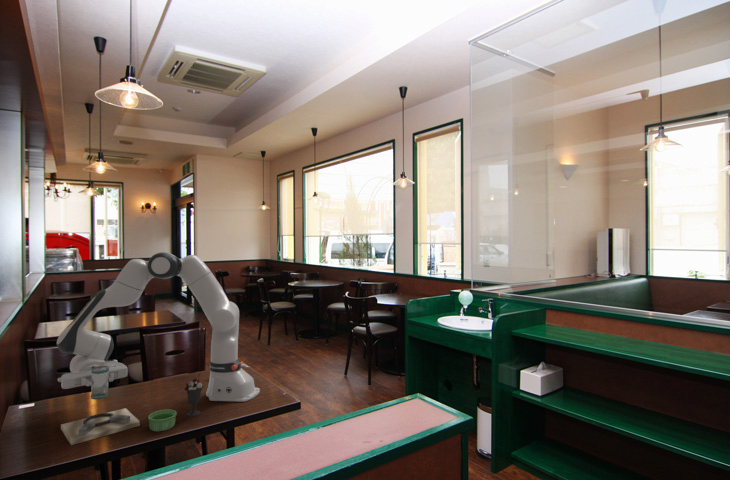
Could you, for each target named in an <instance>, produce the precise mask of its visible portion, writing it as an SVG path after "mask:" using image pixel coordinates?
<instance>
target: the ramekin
mask: <svg viewBox="0 0 730 480" xmlns="http://www.w3.org/2000/svg"><path fill="white" fill-rule="evenodd" d="M176 416H177V410H174V409H171V408H169V409H168V408H167V409H166V408H165V409H160V410H156V411H153V412H152V413H150V414H149V415H148V417H147V418H148V425H149V430H150V431H152V432H164V431H168V430H170V429H172V428H173V427H175V425H176Z"/></svg>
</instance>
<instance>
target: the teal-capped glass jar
mask: <svg viewBox="0 0 730 480" xmlns="http://www.w3.org/2000/svg"><path fill="white" fill-rule="evenodd" d="M91 372H92V386H90V387H91V388H90V390H91V391H90V399H91V400H101V399H105V398H108V397H109V382H108V376H109V367H108V366H99V367H95V368H92V371H91Z"/></svg>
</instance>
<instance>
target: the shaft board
mask: <svg viewBox="0 0 730 480" xmlns="http://www.w3.org/2000/svg"><path fill="white" fill-rule="evenodd" d="M140 426H141V421H140V420H139V419H138V418H137V417H136V416H134V414H132V413H131V411H129V410H128V408H121V409H117V410H112V411H109V412H101V413H97V414H92V415H89V416H88V417H85V418H81V419H77V420H73V421H69V422H66V423H62V424H60V430H61V431H62V433H63V434H64V436H65V438H66V440H67V441H68V442H69V444H70V446H75V445H77V444H81V443H85V442H87V441H91V440H94V439H99V438H102V437H105V436H109V435H113V434H115V433H119V432H122V431H126V430H130V429H133V428H136V427H140Z"/></svg>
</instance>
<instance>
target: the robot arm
mask: <svg viewBox="0 0 730 480" xmlns="http://www.w3.org/2000/svg"><path fill="white" fill-rule="evenodd" d="M175 276H177V277H180V278H181V279H182V280H183V282H184V283H185V285H186V286H187V287H188V289H189V290H190V291H191V293H192V294H193V296H194V297H195V299H196V300H197V302H198V303H199V305H200V307H201V309H202V311H203V312H204V315H205V316H206V318H207V320H208V322H209V323H210V326H211V327H212V332H211V342H210V360H209V369H208V370H209V380H208V386H207V389H206V392H205V396H206V397H207V398H208V400H209V401H212V402H248V401H250V400H252V399H254V398H255V397H257V396H258V395H259V394H260V393H261V390H260V388H259V387H256V386H255V380H254V377H253V376H251V375H250V374H249V373H248V372H247V371H245V369H243V368H242V366H241V365H243V364H244V361H240V360H239V358H238V353H239V352H238V351H239V350H238V349H239V345H238V344H239V331H240V330H239V329H240V309H239V307H238V305H237V304H236V303H235V302H233V301H230V300H229V298H228V297H227V294H226V293H225V291H224V289H223V287H222V286H221V283H220V282H219V281H218V279H217V278H216V277H215V275H214V274H213V272H212V271H211V269H210V268H209V267H208V265H207V264H206V263H205V261H203V260H202V259H201V258H200V257H199V256H198V255H197V254H196V255H195V254H190V255H189V254H188V255H186V256H184V257H181V258H179V257H177V256H176V255H174V254H172V253H171V252H170V253H169V252H164V251H163V252H157V253H154V254H153V255H152V256H151V257H150V258H149V260H144V259H141V258H134V259H133V258H132V259H130V260H128V262H127V263H126V264H125V266H124V267H123V268H122V269H121V271H120V272H119V274H118V275H117V277H116V279H115V281H114V282H113V283H112V284H111V285H110V286H108V287H107V288H105V289H100V290H99V291H98V292H96V293H95V294H94V295H93V296H92V297H91V298H90V299H89V301H87V303H86V304H85V306H84V307H83V308H82V309H81V310H80V312H79V313H78V314H77V315H76V316H75V317H74V319H73V320H72V321H71V322H70V324H68V325H67V326H66V328H64V330H63V331H62V332H61V333H60V334H59V336H58V337H57V340H56V343H55V344H56V347H57V349H58V350H59V351H60V352H61V354H69V355H75V356H74V357H72V359H71V361H70V363H69V370H70V372H67V373H64V374H62V375H61V377H58V378H57V381H58V383H61V384H60V385H61V389H62V390H68V389H73V388H79V387H83V386H86V387H91V386H92V372H91V371H92V368H95V367H99V366H108V367H109V376H108V383H111V382H113V381H114V380H119V379H123V378H126V377H128V372H129V370H128V367H127V365H125V364H124V363H122V362H118V360H117V359H109V358H110V357H111V355H112V353H113V351H114V347H115V346H114V345H115V344H114V340H113V337H112V336H111V334H106V333H102V332H99V331H94V330H90V329H86V328H85V327H86V326H87V325H88V323H89V322H90V321H91V320H92V318H93V317H94V316H95V315H96V314H97V312H99V311H100V310H102V309H106V308H114V307H115V308H119V307H127V306H131V305H133V304H135V303H136V302H137V301H138V300H139V299H140V298H141V296H142V294H143V292H144V290H145V289H146V287H147V285H148V284H149V282H150V281H151V280H152V279H155V278H156V279H159V280H161V279H162V280H168V279H172V278H173V277H175Z"/></svg>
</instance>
